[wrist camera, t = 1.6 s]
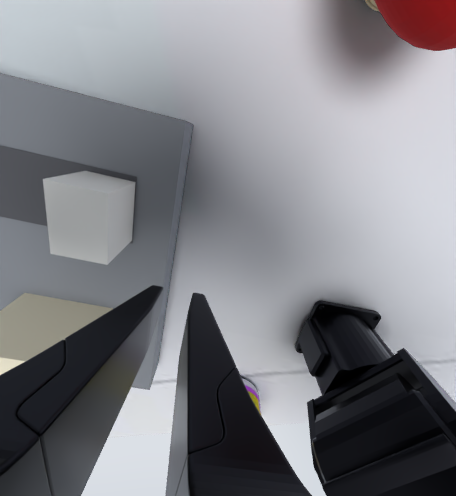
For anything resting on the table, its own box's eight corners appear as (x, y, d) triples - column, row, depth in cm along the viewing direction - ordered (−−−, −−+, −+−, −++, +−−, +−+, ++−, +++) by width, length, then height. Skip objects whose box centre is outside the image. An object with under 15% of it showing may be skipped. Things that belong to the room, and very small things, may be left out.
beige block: (116, 309, 19) (75, 368, 14) (114, 367, 21) (79, 434, 16) (24, 292, 18) (-53, 349, 13) (35, 354, 21) (-25, 420, 16)
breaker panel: (193, 124, 16) (183, 119, 12) (158, 363, 25) (147, 395, 22) (-97, 50, 14) (-196, 22, 11) (-16, 335, 24) (-55, 366, 21)
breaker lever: (135, 182, 14) (108, 193, 11) (132, 240, 16) (107, 265, 13) (85, 170, 14) (42, 179, 11) (87, 231, 16) (50, 253, 12)
